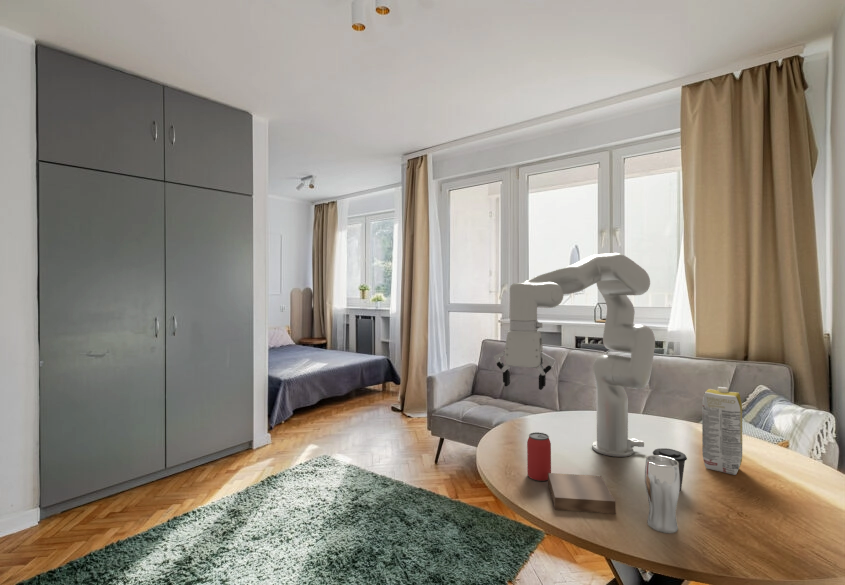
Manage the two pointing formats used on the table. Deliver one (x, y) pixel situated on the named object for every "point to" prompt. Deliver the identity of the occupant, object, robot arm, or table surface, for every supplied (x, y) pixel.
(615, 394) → the robot arm
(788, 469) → the table surface
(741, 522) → the table surface
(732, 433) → the juice carton
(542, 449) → the beer can
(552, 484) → the walnut base
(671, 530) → the beer glass
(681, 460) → the coffee cup
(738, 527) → the table surface
